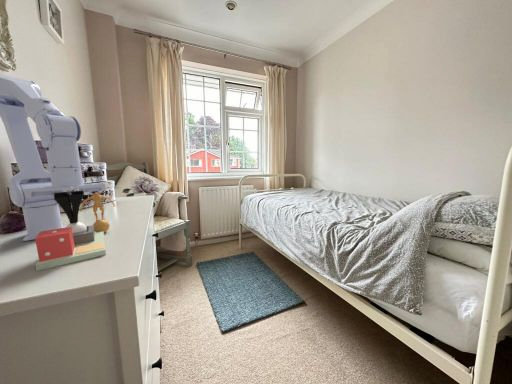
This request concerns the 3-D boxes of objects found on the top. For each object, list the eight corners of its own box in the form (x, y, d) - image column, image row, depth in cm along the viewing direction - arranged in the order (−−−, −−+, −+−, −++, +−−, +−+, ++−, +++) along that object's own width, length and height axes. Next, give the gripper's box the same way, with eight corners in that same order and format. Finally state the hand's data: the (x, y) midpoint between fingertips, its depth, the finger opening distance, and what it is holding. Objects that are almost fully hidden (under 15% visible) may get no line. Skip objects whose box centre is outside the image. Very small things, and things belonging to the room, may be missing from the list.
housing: (60, 239, 53) (59, 230, 53) (94, 233, 57) (93, 225, 57) (56, 248, 48) (54, 238, 47) (94, 241, 52) (93, 231, 51)
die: (44, 252, 45) (40, 230, 44) (74, 246, 48) (71, 225, 47) (39, 262, 41) (34, 237, 40) (72, 255, 44) (68, 231, 43)
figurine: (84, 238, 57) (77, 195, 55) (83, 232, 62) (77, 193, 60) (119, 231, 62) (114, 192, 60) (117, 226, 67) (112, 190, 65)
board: (50, 245, 53) (50, 240, 52) (104, 235, 59) (103, 230, 59) (36, 270, 40) (35, 264, 40) (105, 254, 47) (105, 249, 47)
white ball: (66, 238, 53) (63, 221, 52) (88, 234, 55) (86, 218, 55) (64, 243, 49) (61, 226, 49) (87, 239, 52) (85, 222, 51)
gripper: (15, 169, 42) (27, 232, 44) (103, 166, 51) (110, 220, 53) (24, 168, 48) (35, 224, 50) (102, 166, 56) (108, 214, 58)
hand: (74, 222), depth 52 cm, fingers closed
